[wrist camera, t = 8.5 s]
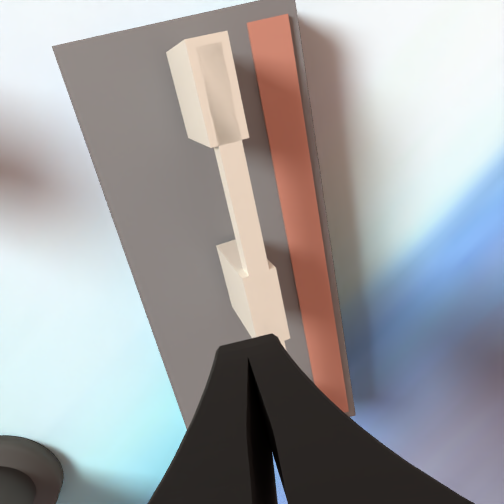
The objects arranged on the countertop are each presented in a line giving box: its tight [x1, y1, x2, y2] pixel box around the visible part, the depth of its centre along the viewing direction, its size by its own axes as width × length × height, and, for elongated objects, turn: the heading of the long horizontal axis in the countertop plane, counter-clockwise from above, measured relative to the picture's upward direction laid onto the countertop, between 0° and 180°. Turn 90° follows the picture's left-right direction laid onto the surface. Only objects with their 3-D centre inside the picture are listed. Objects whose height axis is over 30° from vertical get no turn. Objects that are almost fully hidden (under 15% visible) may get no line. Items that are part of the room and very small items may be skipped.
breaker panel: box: [52, 0, 355, 429], centre depth 16 cm, size 16×7×3 cm, turn 11°
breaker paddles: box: [166, 31, 290, 350], centre depth 14 cm, size 14×1×3 cm, turn 12°
